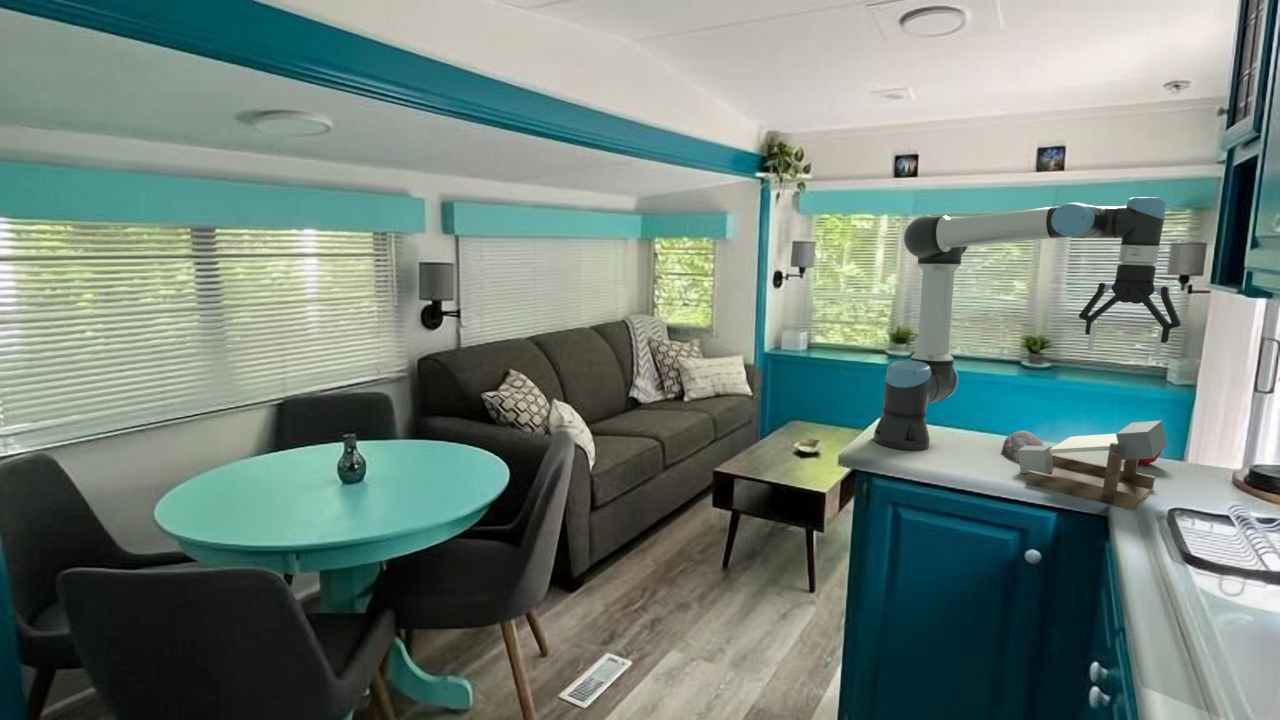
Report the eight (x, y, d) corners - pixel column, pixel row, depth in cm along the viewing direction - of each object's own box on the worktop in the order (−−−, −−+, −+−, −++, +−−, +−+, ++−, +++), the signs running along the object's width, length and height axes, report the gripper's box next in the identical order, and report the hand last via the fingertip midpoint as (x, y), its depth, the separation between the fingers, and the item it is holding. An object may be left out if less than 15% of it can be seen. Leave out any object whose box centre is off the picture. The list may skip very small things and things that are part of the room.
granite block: (1044, 450, 173) (1046, 474, 173) (1051, 446, 177) (1053, 469, 177) (1018, 449, 177) (1020, 473, 177) (1025, 445, 181) (1028, 468, 181)
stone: (1035, 487, 184) (1067, 464, 182) (1010, 459, 184) (1042, 436, 182) (1012, 467, 201) (1042, 446, 198) (990, 441, 201) (1019, 420, 198)
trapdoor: (1052, 463, 166) (1047, 439, 167) (1073, 450, 179) (1068, 427, 179) (1152, 459, 152) (1146, 432, 152) (1168, 444, 164) (1162, 419, 165)
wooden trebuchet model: (1025, 483, 169) (1033, 428, 167) (1052, 465, 184) (1060, 414, 182) (1133, 510, 154) (1143, 450, 151) (1153, 488, 169) (1162, 433, 166)
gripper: (1072, 261, 171) (1060, 346, 174) (1200, 267, 153) (1184, 361, 157) (1081, 261, 176) (1069, 343, 180) (1205, 266, 158) (1189, 358, 162)
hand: (1122, 352), depth 168 cm, fingers open, 13 cm apart
